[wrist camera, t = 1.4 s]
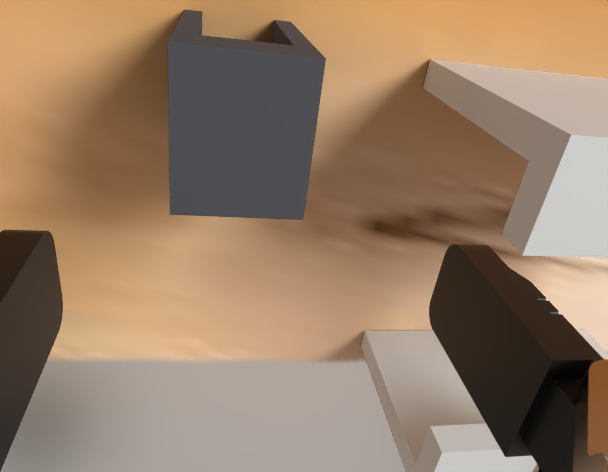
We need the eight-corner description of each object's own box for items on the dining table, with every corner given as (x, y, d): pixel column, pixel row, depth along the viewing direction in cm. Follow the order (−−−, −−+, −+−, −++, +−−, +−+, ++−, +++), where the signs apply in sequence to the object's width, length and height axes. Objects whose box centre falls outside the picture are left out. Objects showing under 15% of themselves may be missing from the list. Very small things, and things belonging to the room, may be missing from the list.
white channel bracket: (430, 59, 26) (615, 158, 14) (712, 89, 29) (1056, 190, 17) (361, 346, 35) (433, 549, 23) (578, 343, 39) (737, 519, 27)
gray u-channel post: (184, 9, 23) (167, 42, 15) (290, 22, 24) (325, 58, 16) (184, 134, 26) (170, 214, 18) (278, 140, 27) (303, 219, 19)
